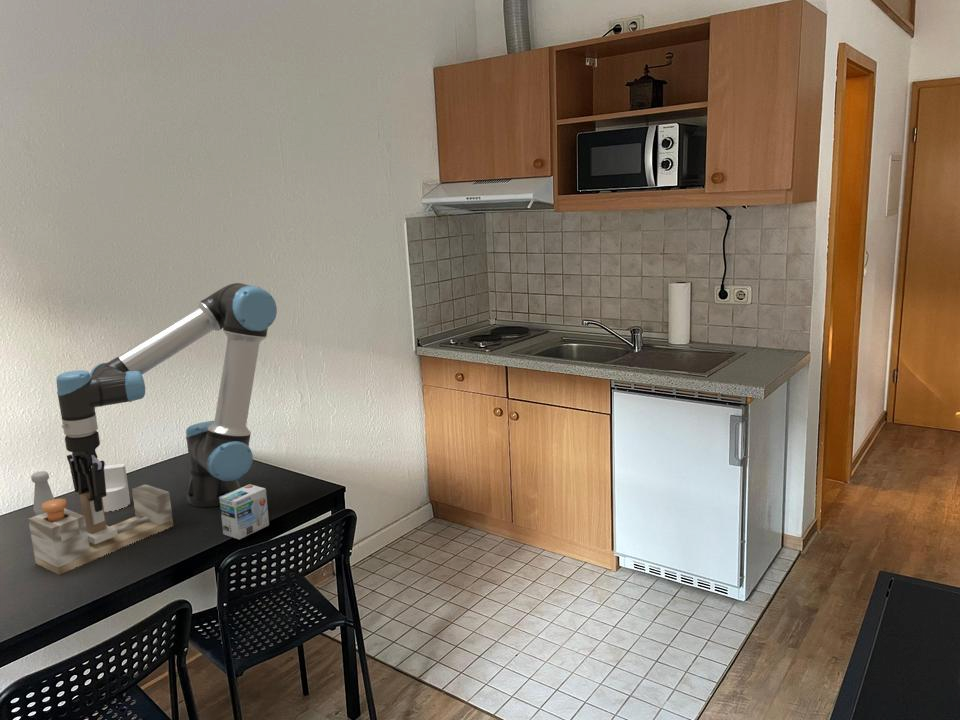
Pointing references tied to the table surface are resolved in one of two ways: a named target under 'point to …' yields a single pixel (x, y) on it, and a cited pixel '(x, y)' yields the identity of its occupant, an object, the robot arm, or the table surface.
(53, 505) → the button
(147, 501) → the rail base
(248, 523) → the light bulb box
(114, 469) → the cylinder with rectangular tab
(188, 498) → the robot arm
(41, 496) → the salt shaker
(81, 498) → the carriage
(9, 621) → the table surface
